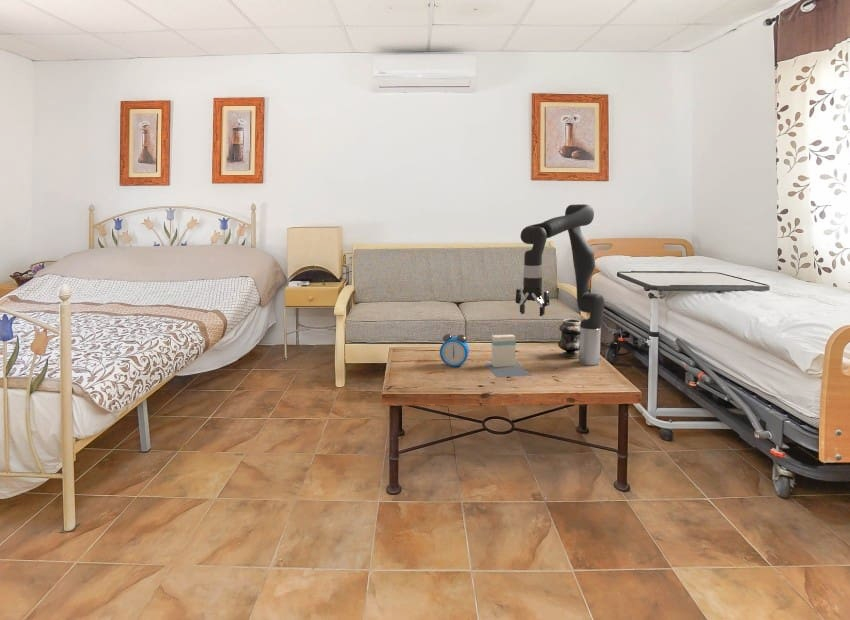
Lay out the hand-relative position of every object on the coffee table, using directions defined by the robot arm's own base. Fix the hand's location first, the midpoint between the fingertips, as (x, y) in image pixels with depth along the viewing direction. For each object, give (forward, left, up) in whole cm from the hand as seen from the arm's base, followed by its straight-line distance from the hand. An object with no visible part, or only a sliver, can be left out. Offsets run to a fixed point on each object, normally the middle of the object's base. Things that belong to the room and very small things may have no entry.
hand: (531, 314), depth 219 cm
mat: (-5, -17, -29) cm, 33 cm away
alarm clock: (+6, -38, -29) cm, 48 cm away
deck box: (-9, -21, -28) cm, 36 cm away
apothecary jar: (-47, -9, -29) cm, 56 cm away
